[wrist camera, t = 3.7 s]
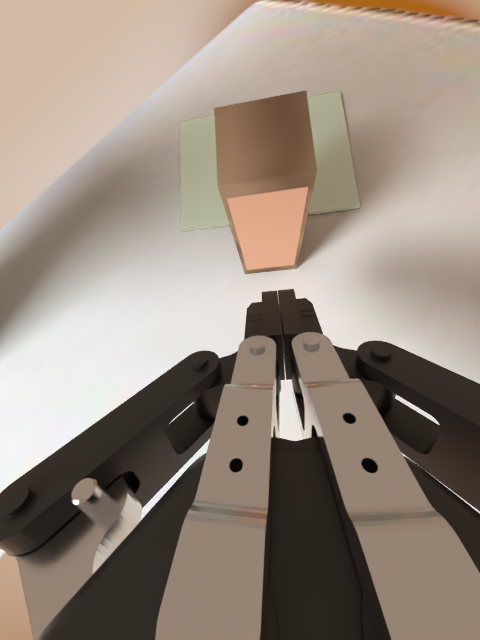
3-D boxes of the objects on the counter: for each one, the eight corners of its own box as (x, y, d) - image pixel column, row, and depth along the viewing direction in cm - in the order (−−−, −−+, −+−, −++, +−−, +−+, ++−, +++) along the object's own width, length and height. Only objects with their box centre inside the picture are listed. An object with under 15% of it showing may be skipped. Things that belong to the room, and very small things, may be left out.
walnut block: (245, 274, 24) (217, 186, 13) (242, 228, 25) (214, 108, 14) (296, 269, 24) (317, 171, 12) (291, 221, 25) (306, 90, 13)
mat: (181, 231, 26) (180, 229, 26) (181, 124, 29) (179, 121, 29) (358, 208, 24) (360, 205, 24) (339, 95, 27) (340, 90, 27)
